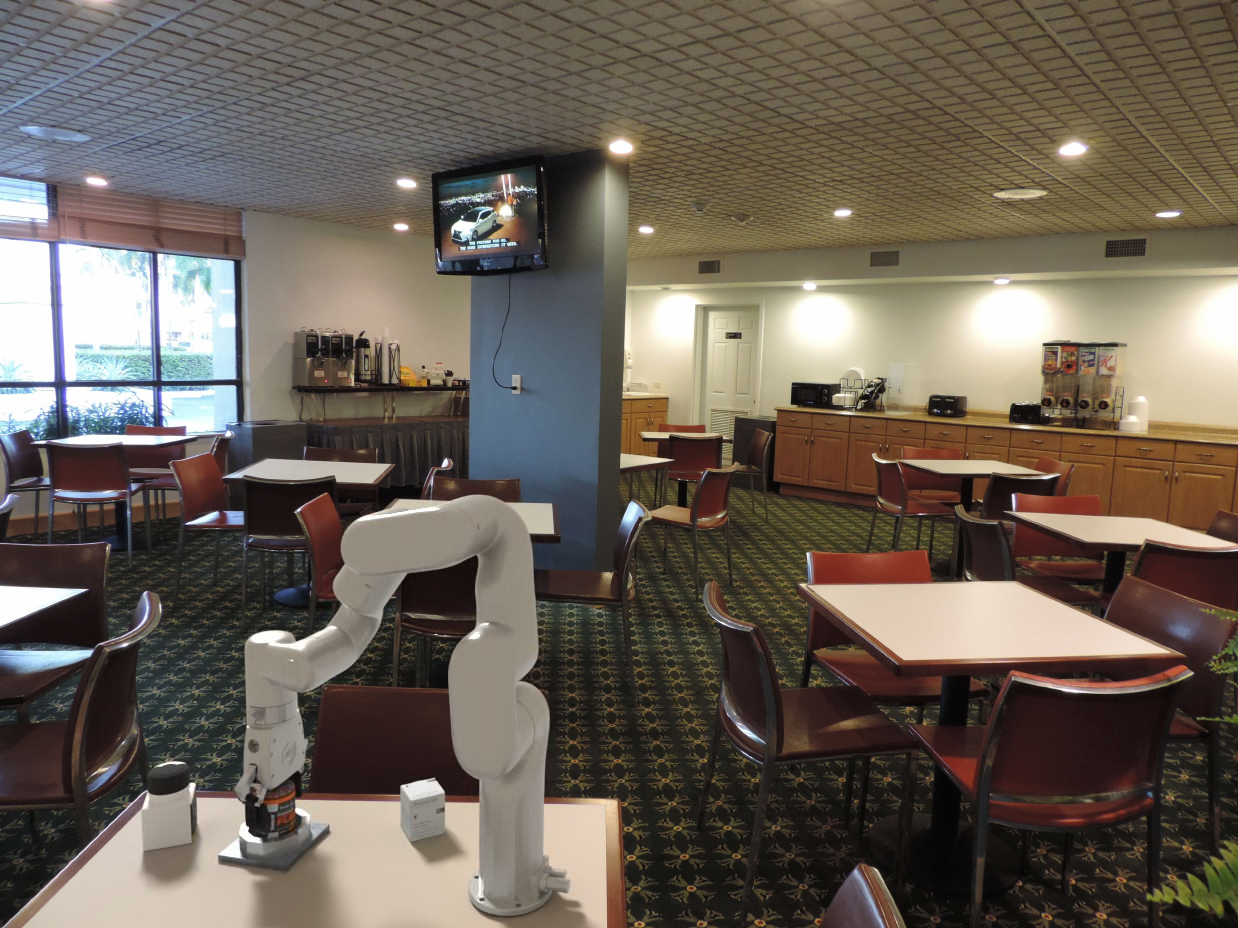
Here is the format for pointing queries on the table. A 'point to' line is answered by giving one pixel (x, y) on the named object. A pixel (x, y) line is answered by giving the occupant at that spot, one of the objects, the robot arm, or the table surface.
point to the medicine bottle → (169, 807)
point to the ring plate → (277, 861)
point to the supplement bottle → (279, 811)
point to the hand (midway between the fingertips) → (274, 810)
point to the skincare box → (422, 809)
